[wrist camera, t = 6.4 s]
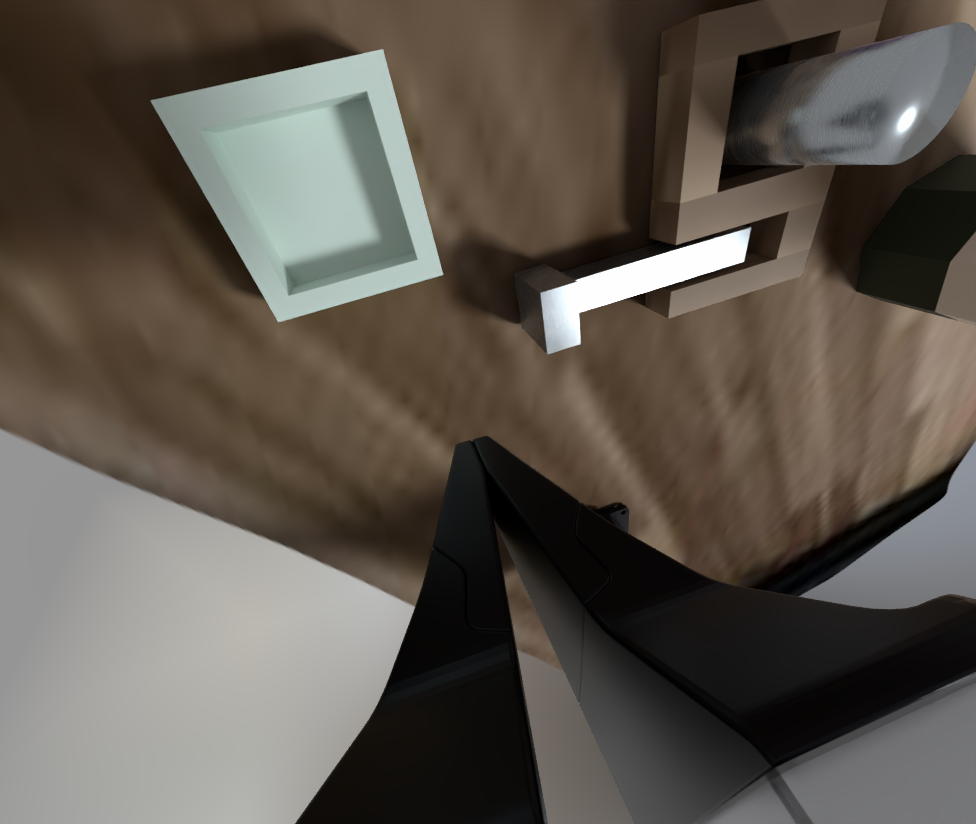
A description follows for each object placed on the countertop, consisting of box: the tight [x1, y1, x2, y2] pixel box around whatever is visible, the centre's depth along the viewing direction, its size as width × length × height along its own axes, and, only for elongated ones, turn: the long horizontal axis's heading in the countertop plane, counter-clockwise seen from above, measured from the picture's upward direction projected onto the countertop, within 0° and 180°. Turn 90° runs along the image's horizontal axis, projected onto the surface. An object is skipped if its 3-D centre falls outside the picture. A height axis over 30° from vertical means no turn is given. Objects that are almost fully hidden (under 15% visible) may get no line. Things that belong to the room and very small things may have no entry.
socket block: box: [645, 0, 887, 318], centre depth 17 cm, size 11×8×2 cm
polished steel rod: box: [721, 22, 976, 165], centre depth 14 cm, size 3×3×7 cm
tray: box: [150, 49, 443, 322], centre depth 13 cm, size 7×7×2 cm
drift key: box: [513, 226, 751, 354], centre depth 17 cm, size 3×12×3 cm, turn 101°
